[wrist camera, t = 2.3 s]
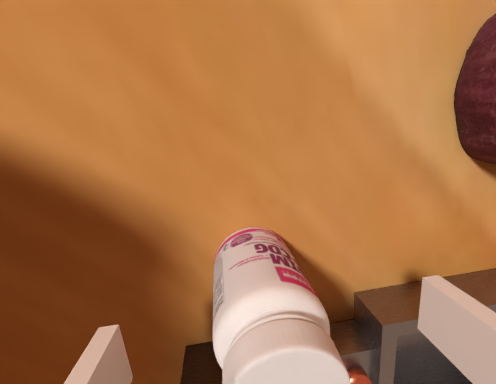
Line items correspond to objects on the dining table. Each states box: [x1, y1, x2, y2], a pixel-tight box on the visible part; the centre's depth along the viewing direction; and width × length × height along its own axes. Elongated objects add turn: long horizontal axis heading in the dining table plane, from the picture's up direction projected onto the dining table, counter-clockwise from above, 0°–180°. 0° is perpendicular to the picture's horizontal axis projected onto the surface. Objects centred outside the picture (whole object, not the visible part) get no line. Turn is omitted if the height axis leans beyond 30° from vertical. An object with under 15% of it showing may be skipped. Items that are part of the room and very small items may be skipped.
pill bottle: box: [213, 227, 351, 384], centre depth 11 cm, size 5×5×8 cm
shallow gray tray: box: [181, 268, 496, 384], centre depth 17 cm, size 24×8×3 cm, turn 95°
